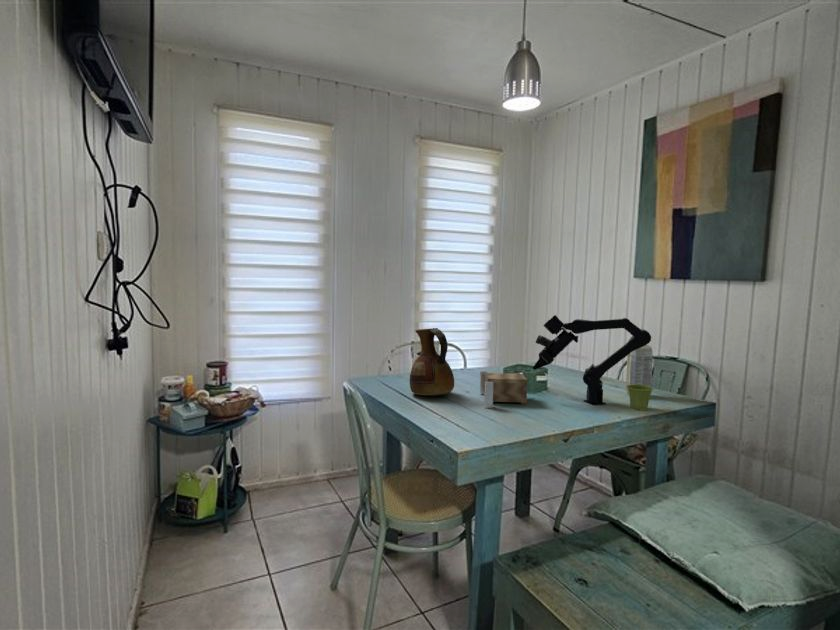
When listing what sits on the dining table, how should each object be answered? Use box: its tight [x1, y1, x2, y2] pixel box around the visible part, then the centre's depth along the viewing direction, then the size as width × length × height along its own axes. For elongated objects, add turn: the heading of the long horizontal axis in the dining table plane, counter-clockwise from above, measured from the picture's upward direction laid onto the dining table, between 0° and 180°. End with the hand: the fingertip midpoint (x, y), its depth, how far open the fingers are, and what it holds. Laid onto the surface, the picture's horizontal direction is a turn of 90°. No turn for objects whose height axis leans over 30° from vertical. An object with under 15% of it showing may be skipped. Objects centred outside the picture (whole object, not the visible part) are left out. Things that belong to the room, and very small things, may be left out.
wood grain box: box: [483, 372, 528, 406], centre depth 197 cm, size 16×12×10 cm
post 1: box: [479, 370, 489, 395], centre depth 208 cm, size 3×3×10 cm
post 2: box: [484, 382, 494, 409], centre depth 186 cm, size 3×3×10 cm
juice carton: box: [625, 344, 654, 397], centre depth 207 cm, size 9×8×24 cm
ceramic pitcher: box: [409, 327, 455, 396], centre depth 204 cm, size 20×20×30 cm
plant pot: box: [627, 385, 654, 411], centre depth 187 cm, size 9×9×9 cm
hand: (535, 367), depth 204 cm, fingers open, 9 cm apart
